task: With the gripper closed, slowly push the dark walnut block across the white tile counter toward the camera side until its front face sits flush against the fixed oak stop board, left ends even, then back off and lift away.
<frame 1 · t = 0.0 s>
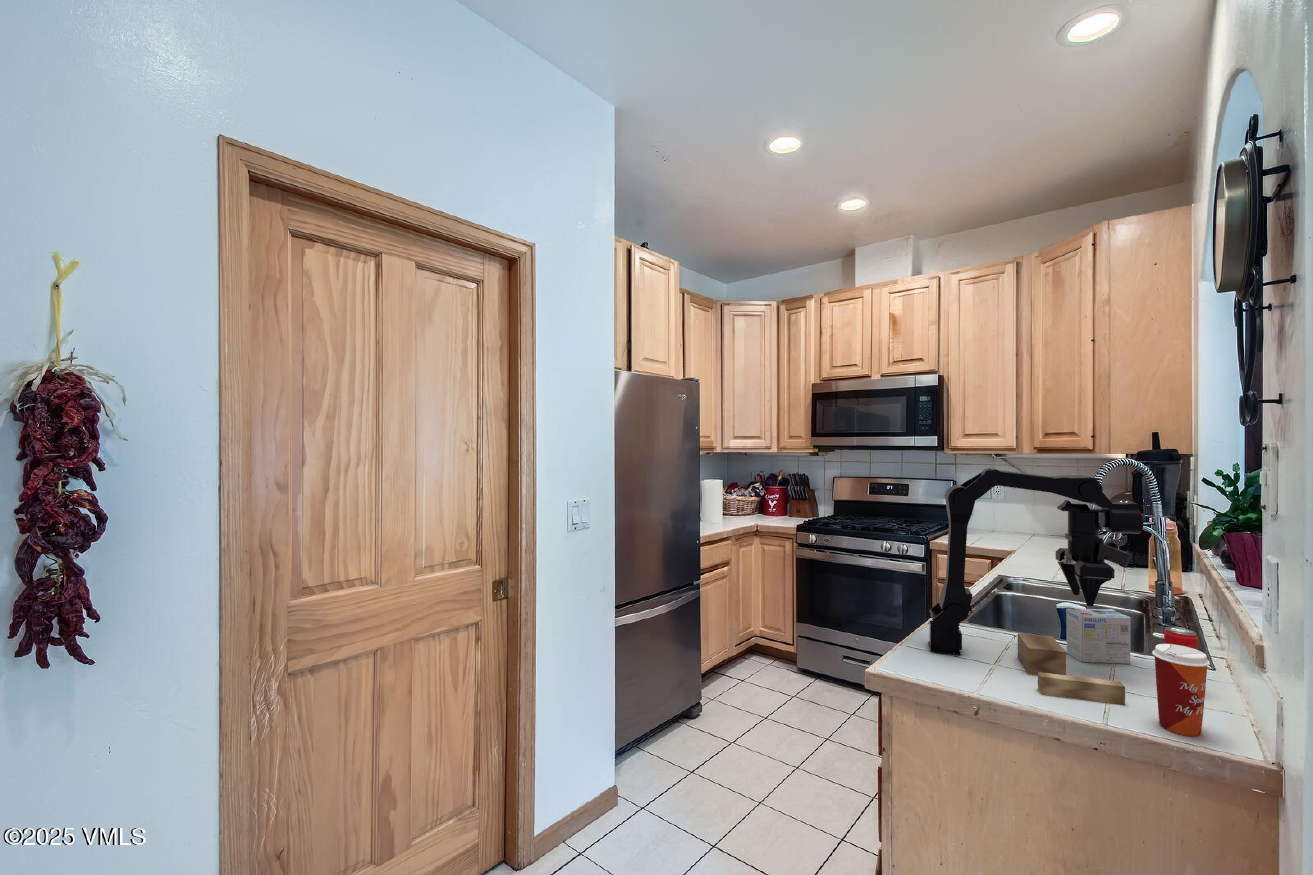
hand: (1082, 600, 134), 15 cm above the counter, fingers open, 9 cm apart
light bulb box: (1097, 659, 138), on the counter
paper cup: (1180, 729, 105), on the counter
oak board: (1080, 696, 118), on the counter
walnut block: (1040, 668, 133), on the counter
beverage can: (1180, 689, 122), on the counter
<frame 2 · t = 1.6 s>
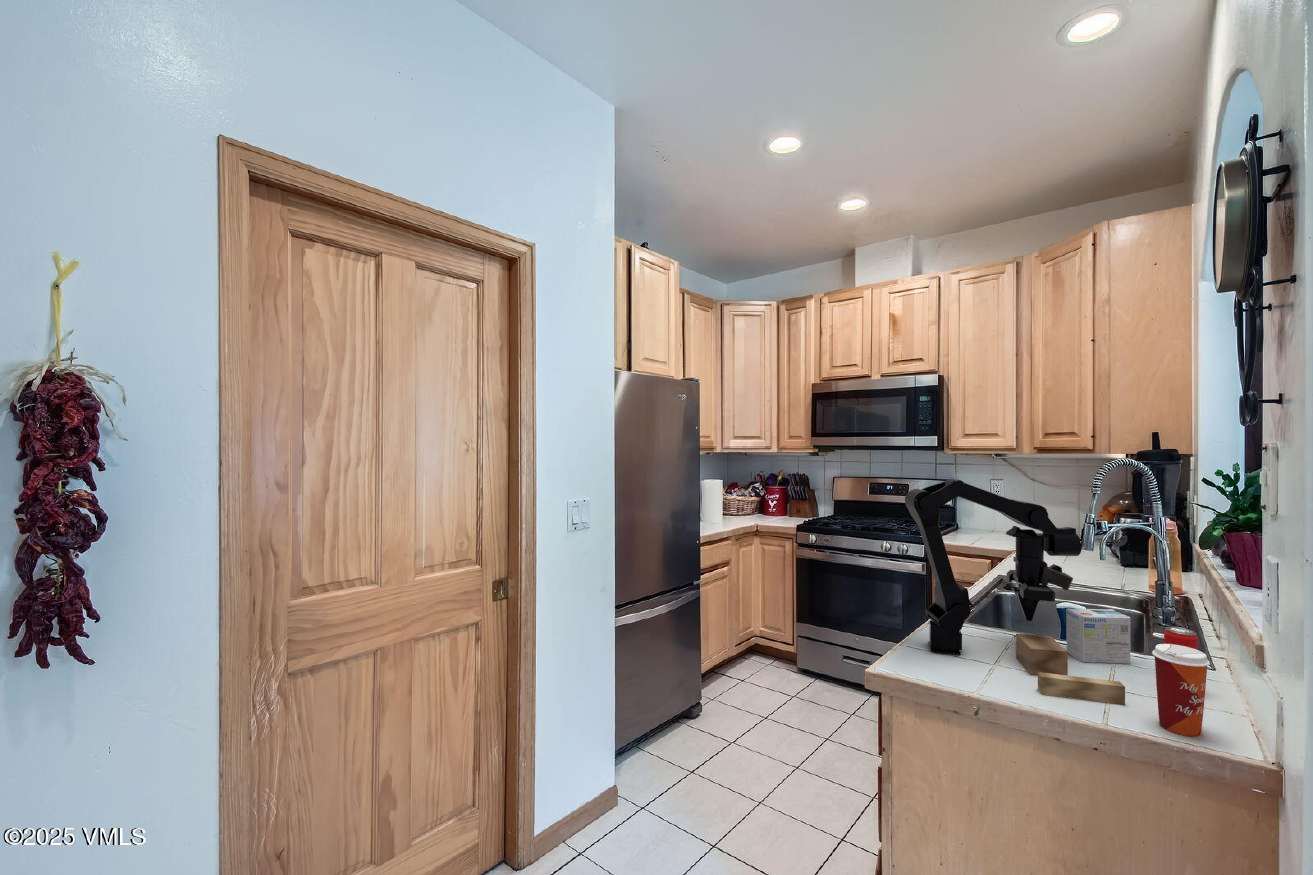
hand: (1028, 620, 142), 8 cm above the counter, fingers closed
nothing on the counter moved.
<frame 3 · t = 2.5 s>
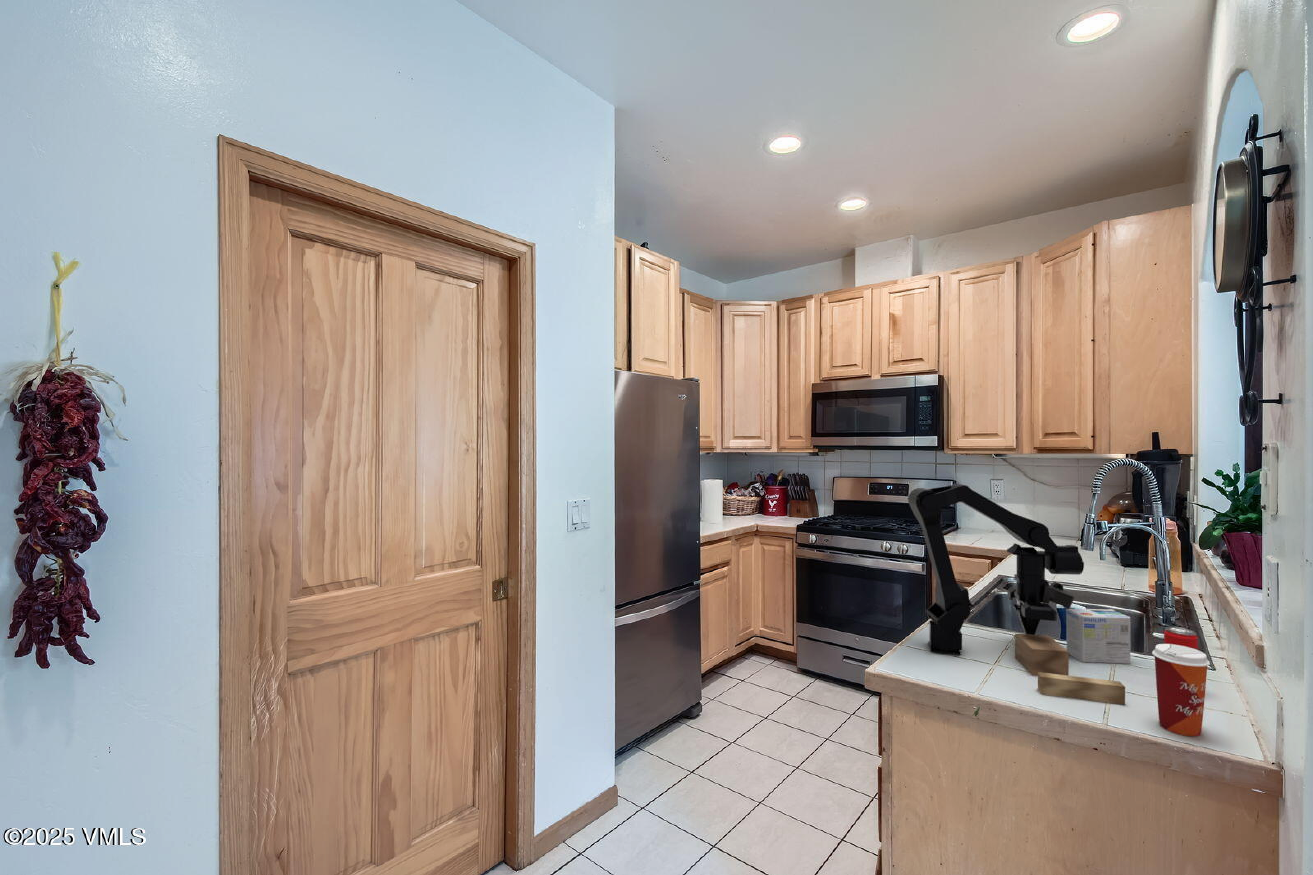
hand: (1030, 638, 141), 3 cm above the counter, fingers closed
nothing on the counter moved.
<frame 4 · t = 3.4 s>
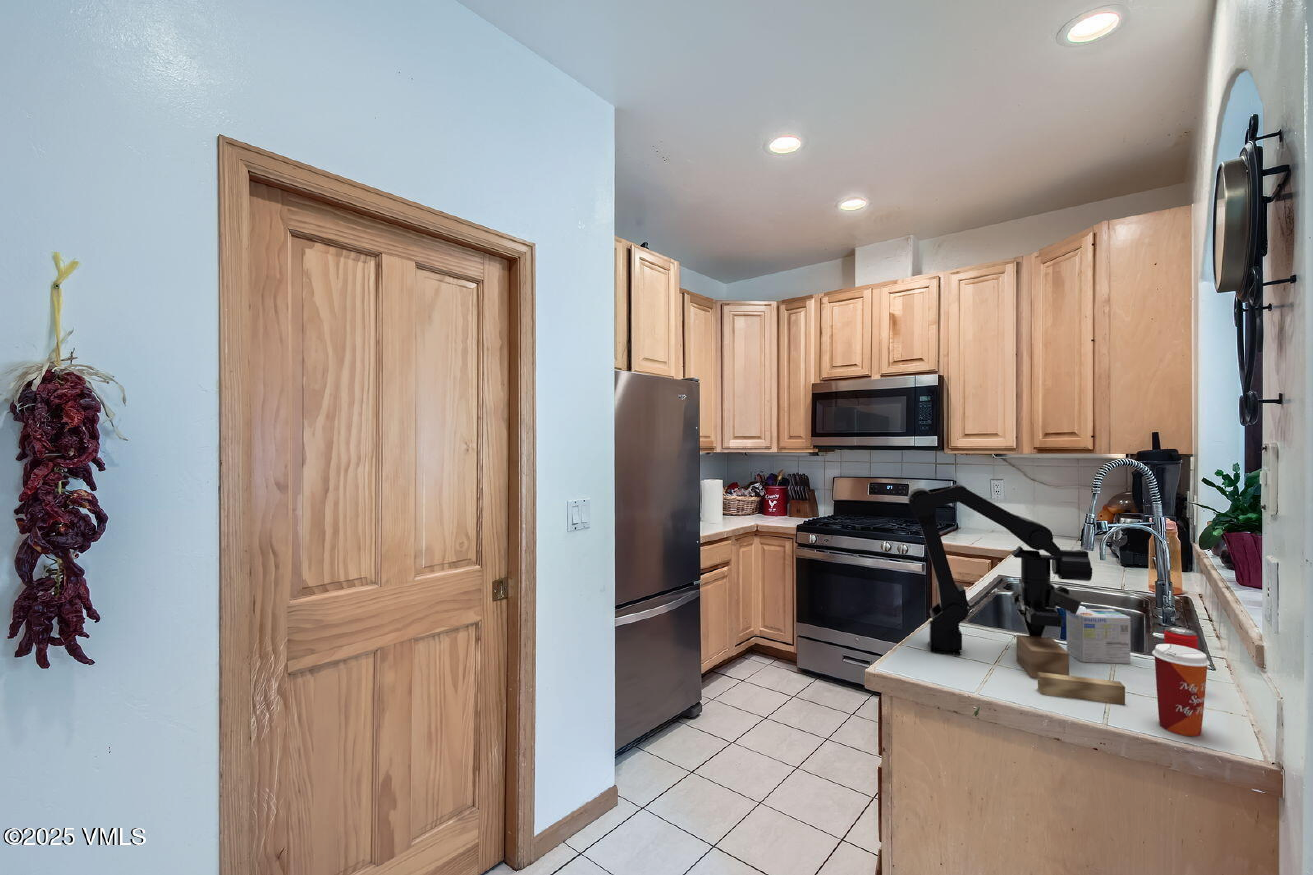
hand: (1035, 644, 137), 4 cm above the counter, fingers closed
walnut block: (1041, 670, 131), on the counter, touching gripper
everything else where it was.
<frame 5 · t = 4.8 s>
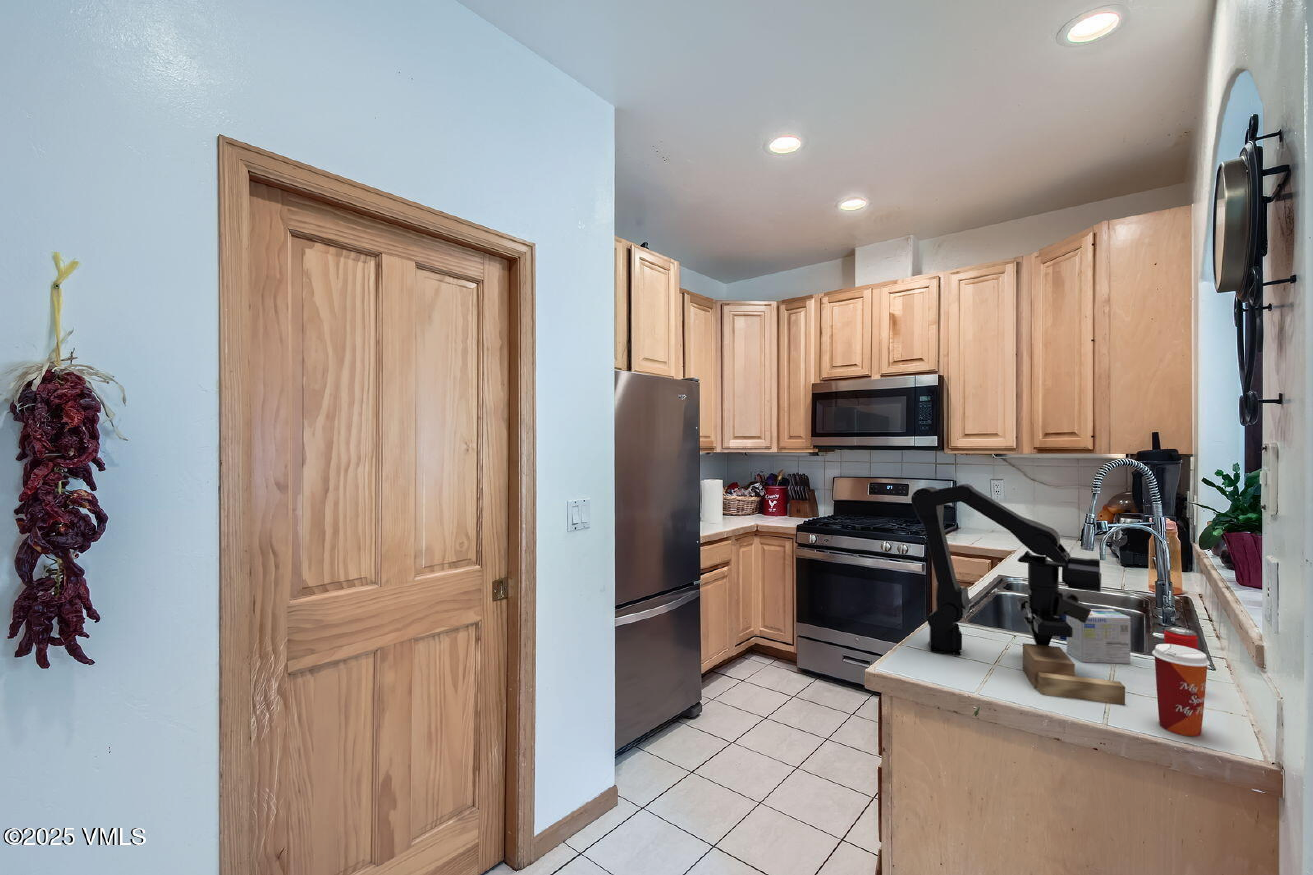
hand: (1042, 654, 131), 4 cm above the counter, fingers closed
walnut block: (1047, 681, 125), on the counter, touching gripper, oak board
everything else where it was.
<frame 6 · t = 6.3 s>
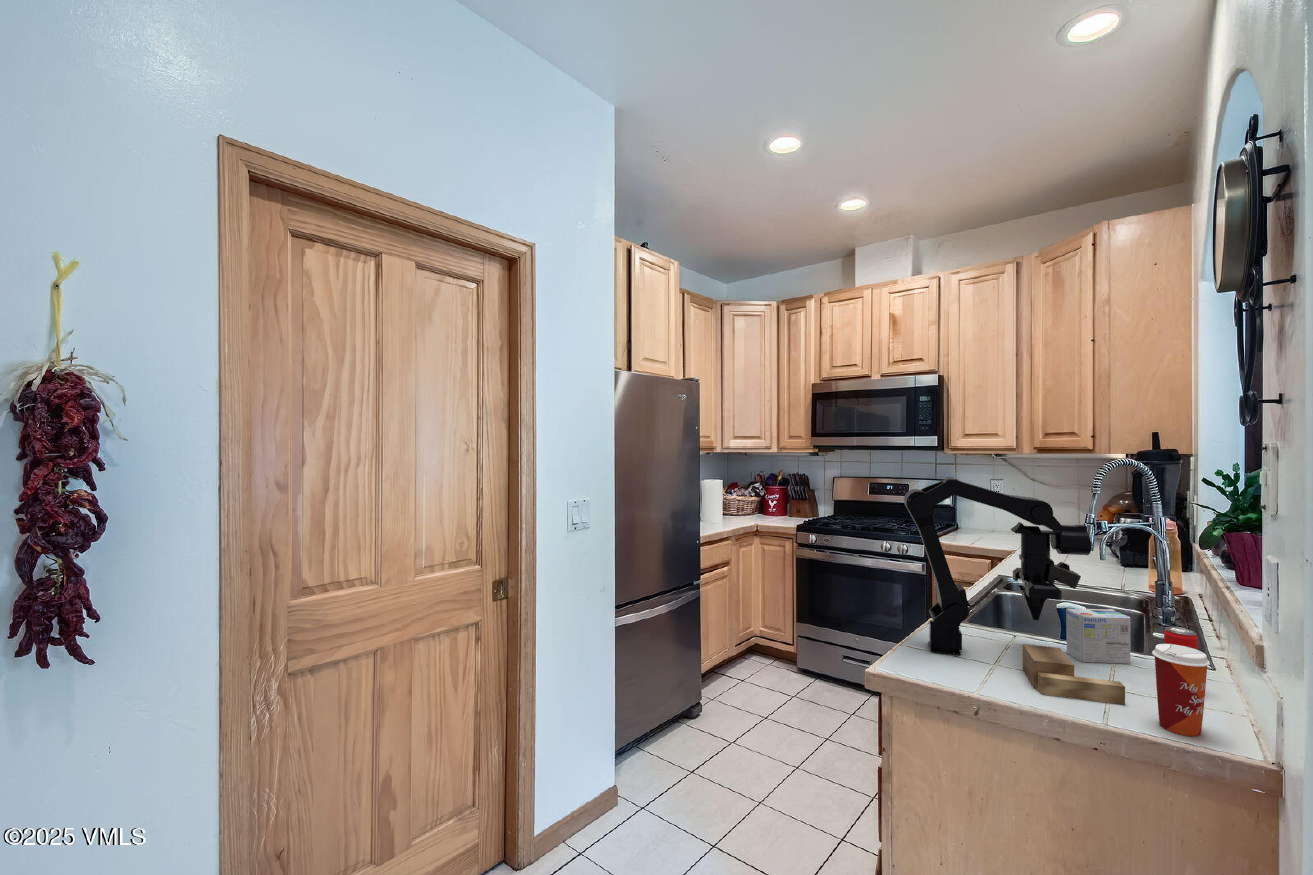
hand: (1035, 619, 138), 9 cm above the counter, fingers closed
walnut block: (1047, 682, 125), on the counter
everything else where it was.
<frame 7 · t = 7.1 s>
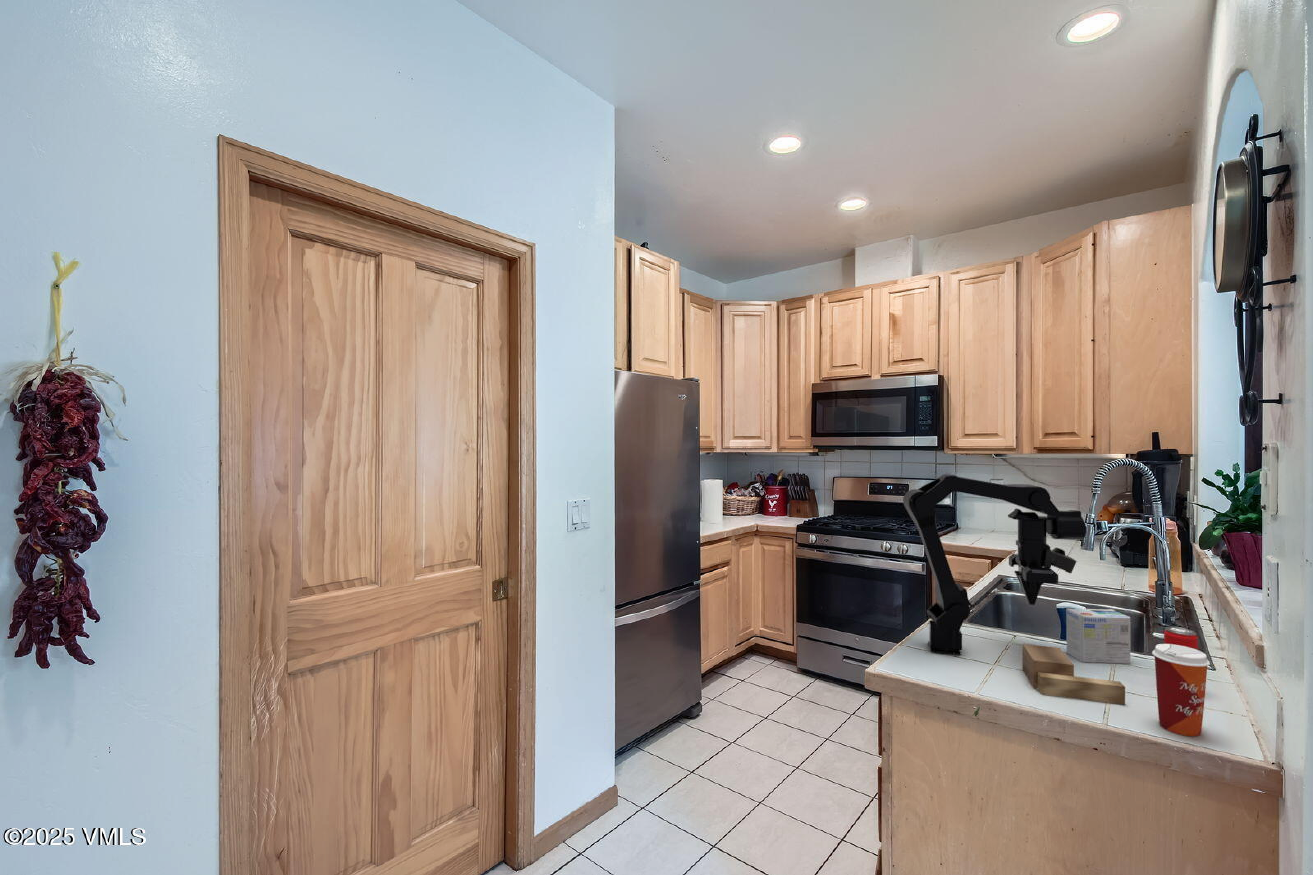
hand: (1031, 604, 140), 12 cm above the counter, fingers closed
nothing on the counter moved.
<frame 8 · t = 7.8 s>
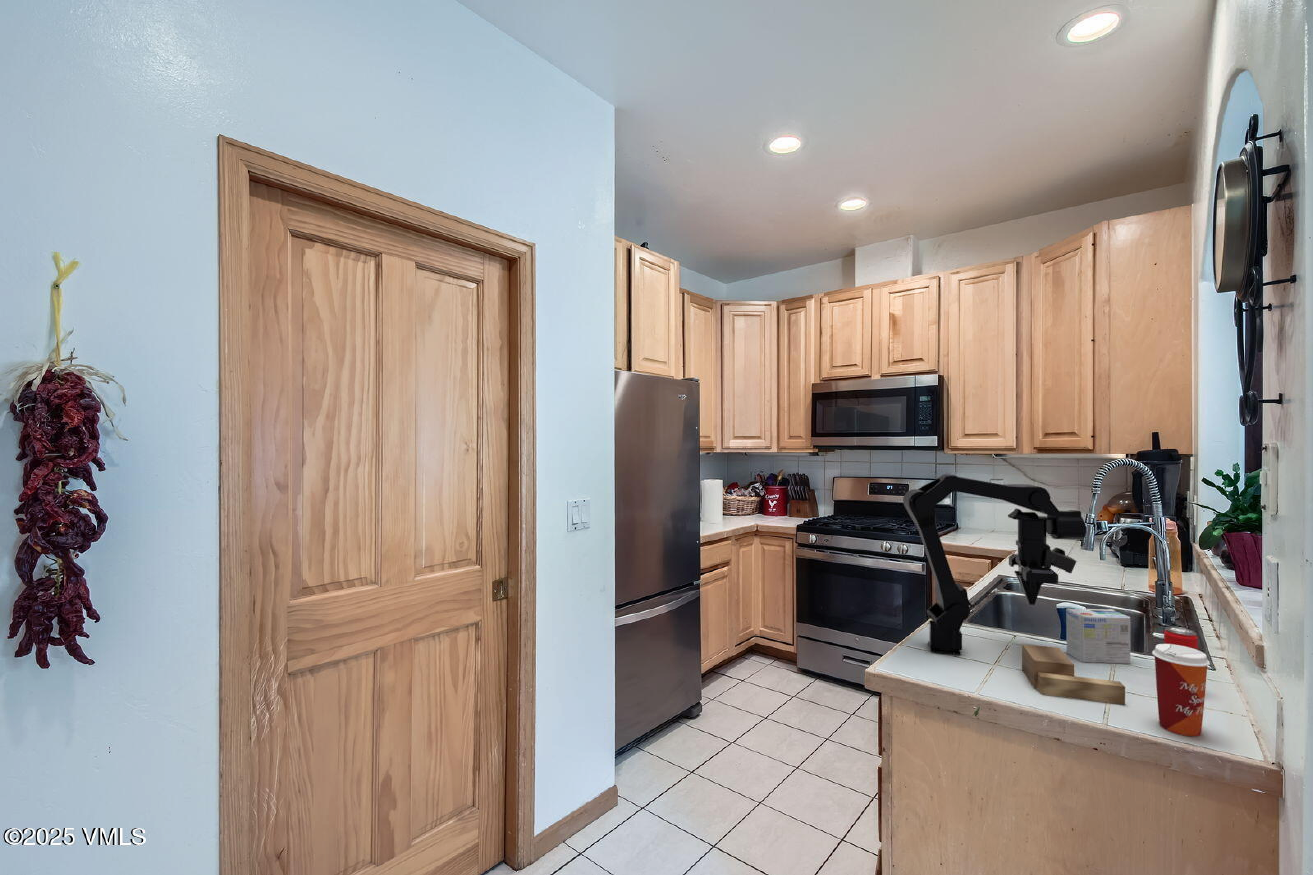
hand: (1031, 604, 140), 12 cm above the counter, fingers closed
nothing on the counter moved.
at the end: walnut block 0.7 cm from the target spot on the counter beside the oak board, on the counter; walnut block tilted 0° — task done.
